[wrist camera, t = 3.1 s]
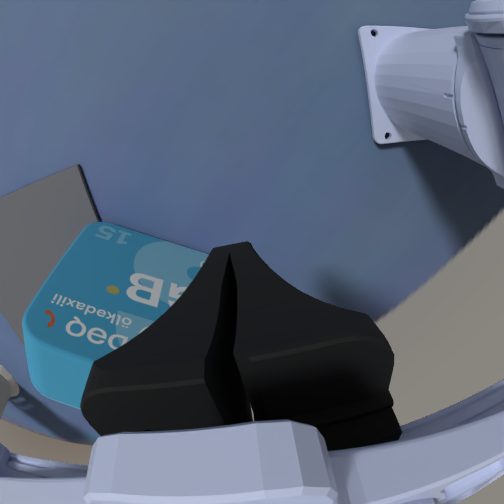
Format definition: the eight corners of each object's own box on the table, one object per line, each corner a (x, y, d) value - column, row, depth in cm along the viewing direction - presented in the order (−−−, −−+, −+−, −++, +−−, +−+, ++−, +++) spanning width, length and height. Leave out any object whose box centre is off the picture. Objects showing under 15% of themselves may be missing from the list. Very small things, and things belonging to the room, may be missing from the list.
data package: (249, 265, 24) (271, 405, 14) (228, 310, 26) (236, 445, 15) (92, 215, 21) (10, 332, 10) (84, 266, 23) (22, 388, 12)
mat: (78, 164, 19) (76, 165, 19) (162, 352, 28) (161, 354, 28) (-45, 221, 20) (-46, 222, 20) (39, 361, 29) (38, 363, 29)
